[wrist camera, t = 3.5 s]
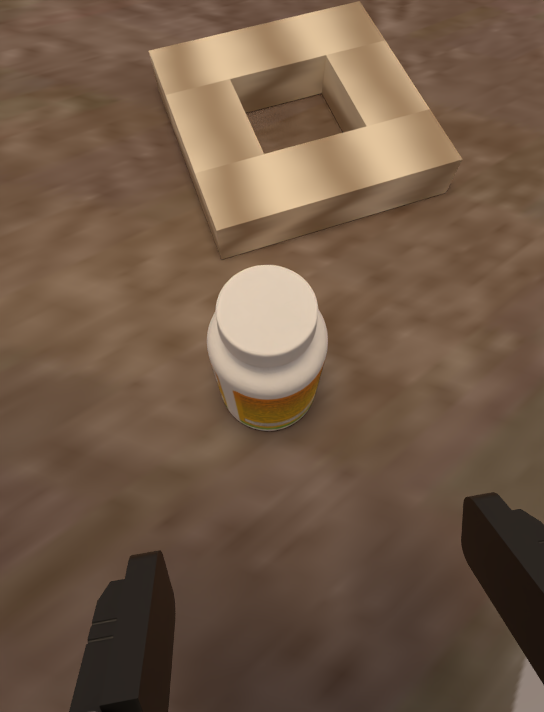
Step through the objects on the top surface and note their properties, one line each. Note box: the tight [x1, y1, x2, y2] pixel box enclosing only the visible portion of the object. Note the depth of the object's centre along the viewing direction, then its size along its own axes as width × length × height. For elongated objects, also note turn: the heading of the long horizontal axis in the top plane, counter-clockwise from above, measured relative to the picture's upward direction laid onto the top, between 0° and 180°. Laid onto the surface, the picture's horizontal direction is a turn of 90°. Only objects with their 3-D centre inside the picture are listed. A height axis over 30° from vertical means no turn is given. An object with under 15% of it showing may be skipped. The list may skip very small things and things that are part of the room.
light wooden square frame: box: [149, 1, 462, 260], centre depth 33 cm, size 16×16×3 cm
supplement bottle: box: [207, 265, 328, 431], centre depth 23 cm, size 5×5×10 cm
